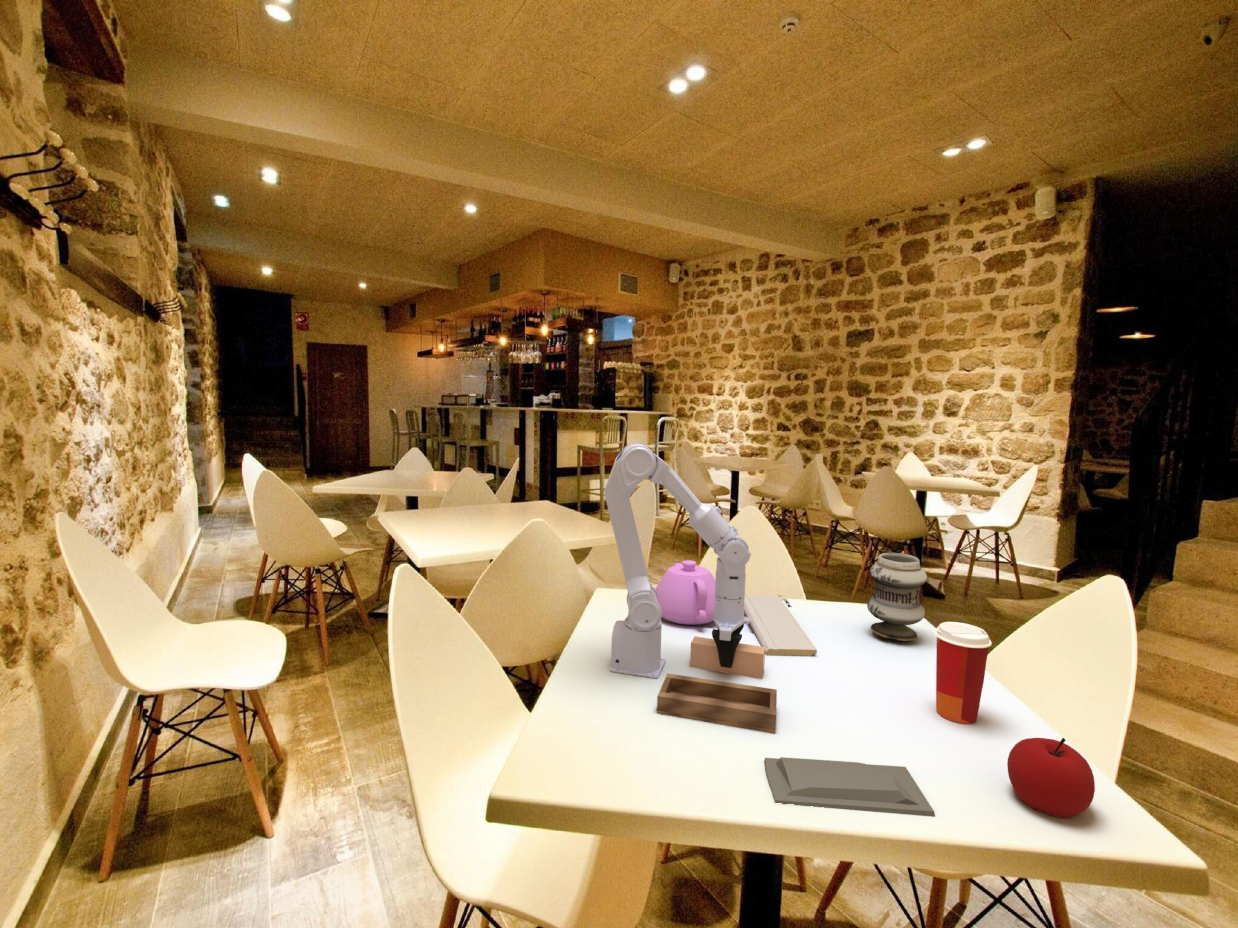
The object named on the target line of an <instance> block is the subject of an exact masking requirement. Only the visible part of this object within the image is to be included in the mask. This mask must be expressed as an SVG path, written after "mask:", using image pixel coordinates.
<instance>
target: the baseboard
mask: <svg viewBox="0 0 1238 928" xmlns="http://www.w3.org/2000/svg"><path fill="white" fill-rule="evenodd" d="M782 597H783V595H781V594H780V595H779V594H756V593H754V594H752V593H751V594H750V593H746V594H745V601H744V615H745V617H749V618H750V623H749V624H750V626H751V629H752V631H753V632H754V633H755V636H756V638H757V639H758V642H759V644H760V645H761V647H765V656H799V657H802V656H805V657H811V656H812V655H816V654H817V653H818V650H817V648H816V646H815V645H814V644H813V642H812V641H811V640H810V638H809V636H808V635H807V634H806V632H805V630H803V628H802V626H801V625H800V624H799V622H798V621H797V620H796V618H795V617H794V615H793V614H792V613H791V611H790V610H789V609H788V608H791V604H790V601H789V600H787V598H784V599H783V598H782ZM784 602H785V603H784Z"/></svg>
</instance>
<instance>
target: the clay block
mask: <svg viewBox="0 0 1238 928" xmlns="http://www.w3.org/2000/svg"><path fill="white" fill-rule="evenodd" d="M689 657H690V659H689V660H690V661H689V667H690V668H696V669H700V670H701V669H702V670H707V671H713V672H719V673H724V674H730V675H735V676H743V677H747V678H753V679H759V680H763V677H764V673H765V663H766V662H765V661H766V659H765V657H766V654H765V647H762V646H760V645H753V644H747V643H741V642H739V644H738V645H737V648H736V651H735V655H734V660H733V664H732V667H731V668H727V667H721V666H720V662H719V656H718V650H717V646H716V643H715V641H714V639H713V638H709V637H701V636H693V638H692V640H691V642H690V656H689Z"/></svg>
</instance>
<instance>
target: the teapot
mask: <svg viewBox="0 0 1238 928" xmlns="http://www.w3.org/2000/svg"><path fill="white" fill-rule="evenodd" d="M715 581H716V578H715V577H714V575H713V574H712V572H711V571H710V570H709V569H708V568H706V567H705V566H704V567H703V566H702V565H701V566H699V565H697V562H696V561H694V560H689V559H688V560H683V561H682V562H681V563H680V562H676V563H674V564H673V565H672V566H669V568H668V569H667V570H666V571H665V573H664V574H663V575H662V577H661V578H660V580H659V582H658V583H657V585H656V588H655V591H656V593H657V596H658V602H659V605H660V607H661V610H662V617H661V618H662V619H664V620H666V621H669V622H671V623H675V624H679V625H690V626H691V625H692V626H693V625H694V626H695V625H704V624H709V623H711V622H714V621H713V615H714V606H715Z"/></svg>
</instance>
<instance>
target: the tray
mask: <svg viewBox="0 0 1238 928" xmlns="http://www.w3.org/2000/svg"><path fill="white" fill-rule="evenodd" d="M777 696H778V689H775V688H770V687H769V688H768V687H762V686H755V685H748V684H741V683H734V682H729V681H723V680H722V681H721V680H714V679H709V678H701V677H694V676H688V675H681V674H675V673H668V672H667V674H666V676H665V678H664V681H663V682H662V684H661V686H660V689H659V692H658V694H657V696H656V697H657V698H656V700H657V701H656V704H657V705H656V714H657V715H658V714H659V715H664V716H669V717H675V718H681V719H687V720H690V721H691V720H692V721H698V722H704V723H710V724H715V725H721V726H727V727H732V728H740V729H745V730H751V731H756V732H763V733H768V734H774V735H776V729H777V728H776V727H777V703H778V701H777Z"/></svg>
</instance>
